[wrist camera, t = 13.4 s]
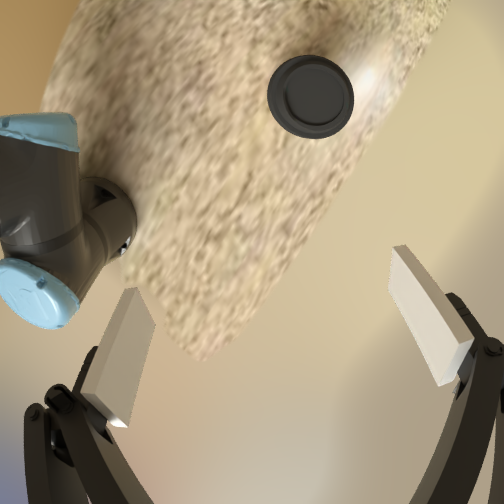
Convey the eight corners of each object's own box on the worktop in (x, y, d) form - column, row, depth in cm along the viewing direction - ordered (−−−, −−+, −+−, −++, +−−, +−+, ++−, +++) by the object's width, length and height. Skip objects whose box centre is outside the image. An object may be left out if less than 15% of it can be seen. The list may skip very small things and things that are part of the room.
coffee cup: (312, 58, 34) (346, 44, 21) (332, 115, 39) (372, 129, 26) (252, 75, 36) (255, 67, 23) (273, 132, 40) (287, 154, 27)
